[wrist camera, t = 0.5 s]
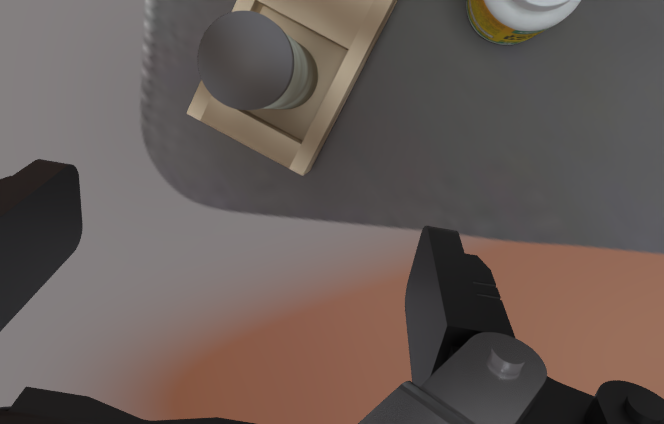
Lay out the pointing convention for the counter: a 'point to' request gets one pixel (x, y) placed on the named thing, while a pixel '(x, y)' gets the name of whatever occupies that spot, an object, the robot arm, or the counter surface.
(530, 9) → the supplement bottle
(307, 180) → the counter surface
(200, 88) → the caddy
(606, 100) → the counter surface
